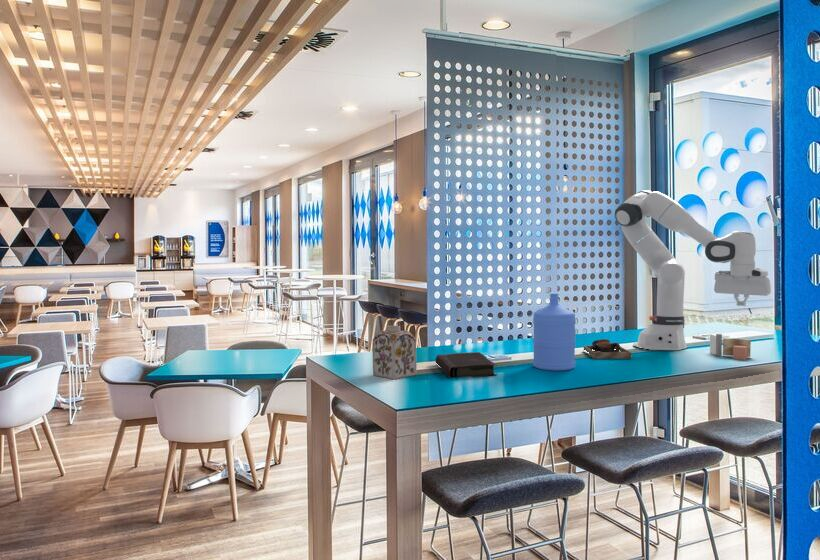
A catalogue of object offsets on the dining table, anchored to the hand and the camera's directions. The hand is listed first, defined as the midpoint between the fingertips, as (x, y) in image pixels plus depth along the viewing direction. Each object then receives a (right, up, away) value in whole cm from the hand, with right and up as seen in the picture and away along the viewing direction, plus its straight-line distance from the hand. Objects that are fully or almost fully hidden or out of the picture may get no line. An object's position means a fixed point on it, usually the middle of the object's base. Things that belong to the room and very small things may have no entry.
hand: (741, 305), depth 255 cm
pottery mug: (-52, -22, +8) cm, 57 cm away
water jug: (-78, -23, -13) cm, 83 cm away
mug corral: (-50, -21, +12) cm, 56 cm away
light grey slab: (-5, -21, +10) cm, 24 cm away
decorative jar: (-139, -25, -25) cm, 143 cm away
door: (0, -21, +5) cm, 21 cm away
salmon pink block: (0, -21, +1) cm, 21 cm away
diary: (-112, -24, -17) cm, 116 cm away
